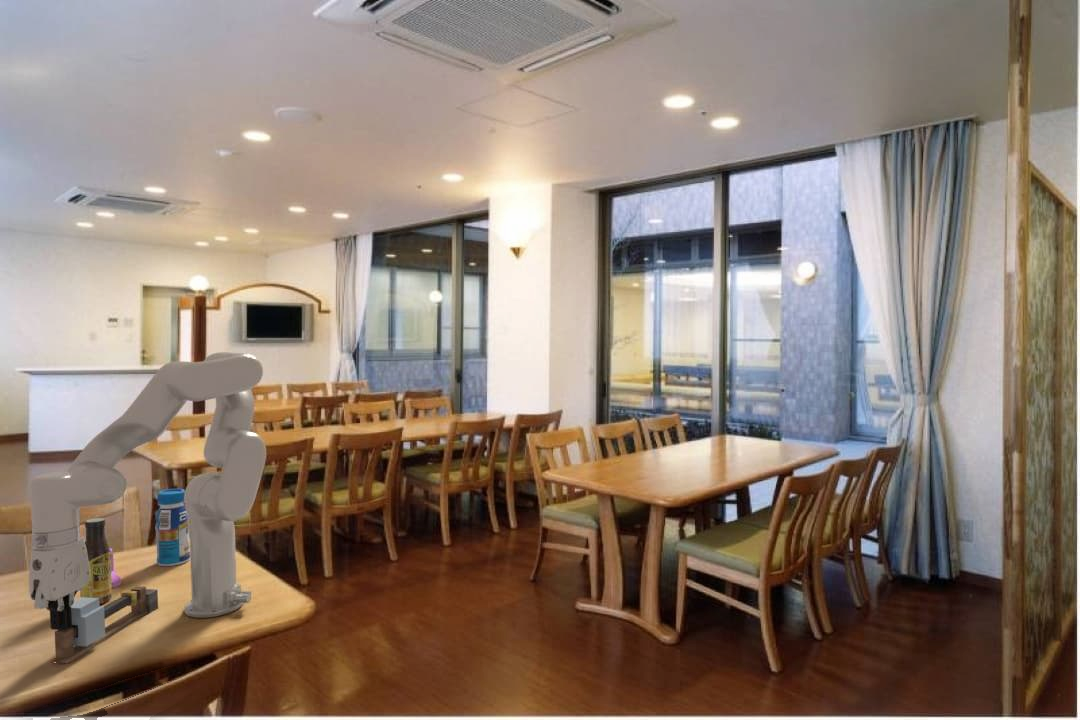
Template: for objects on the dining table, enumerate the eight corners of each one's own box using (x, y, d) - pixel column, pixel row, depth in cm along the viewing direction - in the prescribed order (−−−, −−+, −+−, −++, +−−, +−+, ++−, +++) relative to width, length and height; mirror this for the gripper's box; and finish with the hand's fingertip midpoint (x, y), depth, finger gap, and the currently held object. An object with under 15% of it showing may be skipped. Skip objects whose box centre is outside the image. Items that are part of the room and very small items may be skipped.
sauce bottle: (96, 608, 157) (92, 525, 156) (74, 606, 158) (70, 523, 157) (119, 597, 164) (115, 517, 162) (97, 595, 165) (94, 515, 164)
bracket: (86, 577, 177) (84, 551, 176) (110, 572, 181) (109, 546, 180) (97, 591, 167) (96, 564, 167) (123, 585, 171) (122, 558, 171)
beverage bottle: (151, 562, 187) (148, 491, 186) (183, 554, 194) (180, 485, 193) (163, 569, 182) (161, 496, 181) (195, 561, 188) (193, 490, 187)
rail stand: (158, 607, 157) (157, 580, 157) (69, 664, 132) (67, 631, 131) (142, 607, 158) (141, 580, 158) (50, 663, 132) (49, 631, 132)
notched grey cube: (105, 634, 140) (103, 598, 139) (86, 646, 135) (84, 608, 134) (78, 633, 140) (77, 597, 140) (59, 645, 135) (57, 607, 135)
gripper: (42, 550, 123) (47, 647, 124) (103, 525, 138) (107, 612, 139) (4, 549, 124) (10, 645, 125) (69, 524, 139) (73, 610, 140)
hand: (61, 627), depth 132 cm, fingers closed
